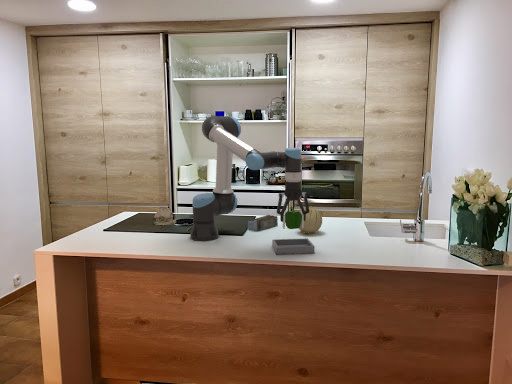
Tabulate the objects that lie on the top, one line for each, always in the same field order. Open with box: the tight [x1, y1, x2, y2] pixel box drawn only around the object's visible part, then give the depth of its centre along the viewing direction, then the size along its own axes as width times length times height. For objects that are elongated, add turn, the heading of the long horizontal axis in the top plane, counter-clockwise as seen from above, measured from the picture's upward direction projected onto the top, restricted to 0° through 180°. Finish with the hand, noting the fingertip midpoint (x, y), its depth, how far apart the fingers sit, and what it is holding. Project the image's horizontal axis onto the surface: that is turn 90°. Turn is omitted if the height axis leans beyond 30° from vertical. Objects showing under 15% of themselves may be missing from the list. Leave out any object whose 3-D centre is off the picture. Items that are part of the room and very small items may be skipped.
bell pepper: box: [284, 206, 302, 230], centre depth 196 cm, size 8×8×10 cm
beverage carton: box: [247, 214, 279, 233], centre depth 242 cm, size 8×19×7 cm, turn 138°
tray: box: [271, 238, 315, 256], centre depth 198 cm, size 18×14×4 cm
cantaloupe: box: [297, 205, 323, 234], centre depth 229 cm, size 15×15×15 cm
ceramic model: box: [153, 207, 177, 227], centre depth 254 cm, size 14×11×10 cm
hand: (293, 227), depth 197 cm, fingers closed on bell pepper, 8 cm apart
